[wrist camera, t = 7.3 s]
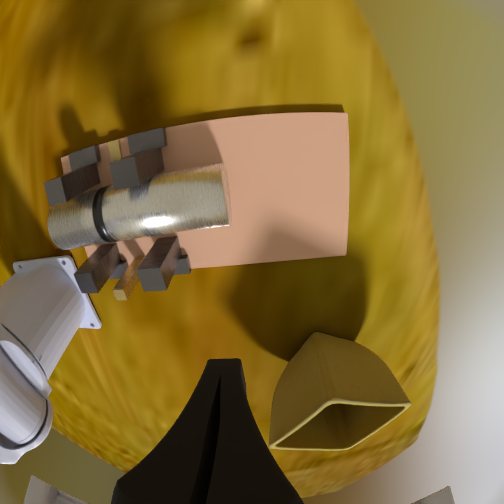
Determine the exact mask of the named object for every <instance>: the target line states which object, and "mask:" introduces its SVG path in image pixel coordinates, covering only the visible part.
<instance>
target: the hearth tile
mask: <svg viewBox="0 0 504 504" xmlns="http://www.w3.org/2000/svg"><path fill="white" fill-rule="evenodd" d="M165 130H166V137H167V144H168V146H165V147H161V150H162V156H163V162H164V168H165V169H164V170H163V171H161V172H160V173H158V174H162V173H167V172H173V171H178V170H183V169H189V168H195V167H201V166H207V165H213V164H220V163H223V164H224V166H225V169H226V173H227V178H228V183H229V190H230V198H231V209H232V223H231V226H224V227H216V228H208V229H200V230H193V231H185V232H178V233H170V234H163V235H156V236H149V237H142V238H135V239H129V240H122V241H118V242H111V243H103V244H97V245H91V246H85V250H86V253H87V256H88V258H89V257H90V256H91V255H92V254H93V253H94V252H95V250H96V249H97V248H98V247H99V246H100V245H104V244H112V243H117V246H118V249H119V252H120V256H121V259H122V260H127V262H128V265H129V266H130V264H131V263H132V261H133V260H134V259H135V257H136V256H144V255H147V253H148V252H149V250H150V249H151V247H152V246H153V245H154V243H155V242H156V240H157V239H158V238H163V237H173V236H178V239H179V244H180V248H181V253H182V255H188V256H189V261H190V265H191V269H192V268H204V267H217V266H229V265H242V264H254V263H265V262H277V261H288V260H299V259H311V258H321V257H332V256H343V255H346V251H347V236H348V216H349V130H348V113H333V112H305V113H278V114H262V115H250V116H240V117H231V118H223V119H215V120H208V121H201V122H195V123H189V124H184V125H178V126H173V127H168V128H165ZM119 140H120V146H121V152H122V158H123V157H125V156H128V155H131V154H130V151H129V145H128V138H127V137H125V138H121V139H119ZM99 150H100V156H101V161H100V162H97V168H98V173H99V178H100V182H101V183H99V184H97V185H95V186H93V187H92V188H90V189H88V190H86V191H84V192H87V191H91V190H95V189H98V188H101V187H105V186H108V185H113V181H112V176H111V171H110V166H109V163H110V162H111V157H110V151H109V146H108V142H107V143H104V144H100V145H99ZM132 154H133V153H132ZM61 162H62V167H63V172H64V174H65V173H67V172H70V171H72V170H71V166H70V161H69V155H67V156H65V157H62V158H61ZM84 192H83V193H84Z"/></svg>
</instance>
